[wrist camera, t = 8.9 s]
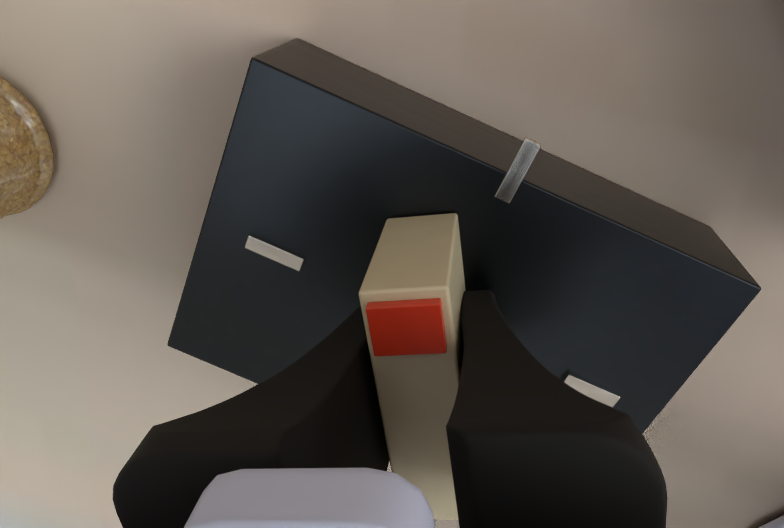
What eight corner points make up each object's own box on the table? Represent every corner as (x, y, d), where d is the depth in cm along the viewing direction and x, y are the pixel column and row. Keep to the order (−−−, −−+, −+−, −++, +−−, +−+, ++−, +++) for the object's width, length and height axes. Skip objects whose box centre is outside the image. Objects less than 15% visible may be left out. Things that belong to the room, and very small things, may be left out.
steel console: (731, 200, 16) (792, 260, 13) (547, 449, 21) (559, 541, 17) (307, 4, 16) (260, 16, 12) (210, 305, 20) (156, 373, 17)
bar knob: (478, 411, 16) (476, 531, 13) (416, 413, 16) (398, 530, 13) (457, 211, 14) (447, 292, 10) (386, 217, 14) (354, 299, 11)
